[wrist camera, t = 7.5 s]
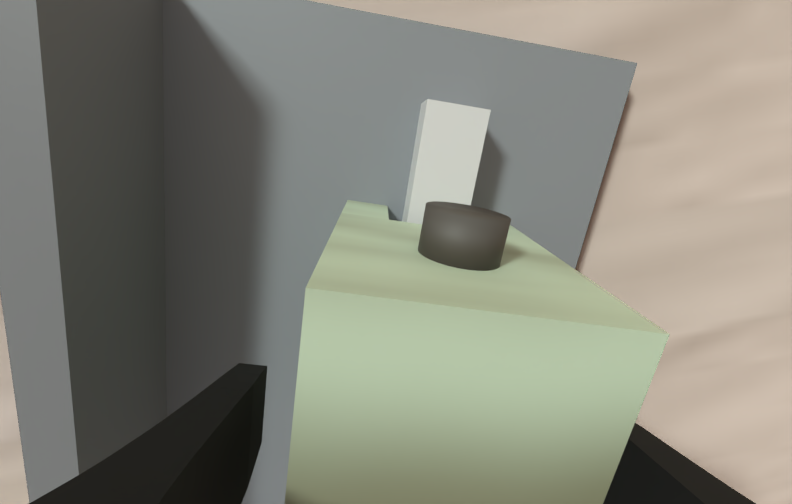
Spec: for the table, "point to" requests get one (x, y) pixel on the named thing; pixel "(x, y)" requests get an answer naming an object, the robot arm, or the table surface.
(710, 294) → the table surface
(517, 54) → the board
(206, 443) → the robot arm
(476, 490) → the block
